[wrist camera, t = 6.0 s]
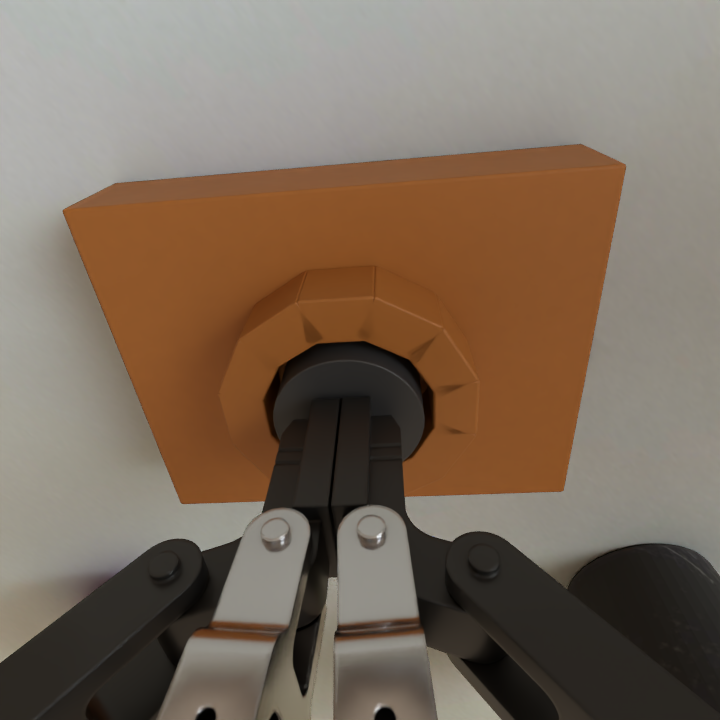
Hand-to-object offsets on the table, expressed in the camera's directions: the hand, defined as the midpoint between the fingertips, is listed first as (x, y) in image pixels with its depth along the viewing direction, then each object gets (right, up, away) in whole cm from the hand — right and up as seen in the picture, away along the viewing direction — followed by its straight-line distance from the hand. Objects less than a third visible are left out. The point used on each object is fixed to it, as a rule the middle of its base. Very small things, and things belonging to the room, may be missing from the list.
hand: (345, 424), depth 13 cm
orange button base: (0, +3, +5) cm, 5 cm away
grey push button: (0, +1, +2) cm, 2 cm away
